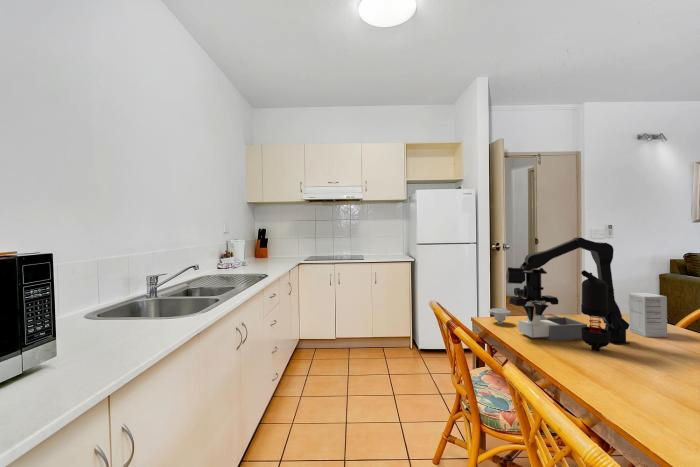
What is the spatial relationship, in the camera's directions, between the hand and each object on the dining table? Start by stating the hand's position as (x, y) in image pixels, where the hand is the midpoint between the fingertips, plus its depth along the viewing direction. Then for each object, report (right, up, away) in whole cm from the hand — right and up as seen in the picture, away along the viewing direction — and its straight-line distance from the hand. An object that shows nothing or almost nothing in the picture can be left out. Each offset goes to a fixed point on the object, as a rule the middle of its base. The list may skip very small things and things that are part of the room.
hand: (533, 321), depth 146 cm
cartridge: (+3, -5, 0) cm, 6 cm away
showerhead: (-5, -7, +21) cm, 22 cm away
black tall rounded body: (+16, -7, -16) cm, 23 cm away
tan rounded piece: (+12, -5, +10) cm, 17 cm away
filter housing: (+11, -6, +5) cm, 14 cm away
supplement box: (+50, -6, +2) cm, 50 cm away
